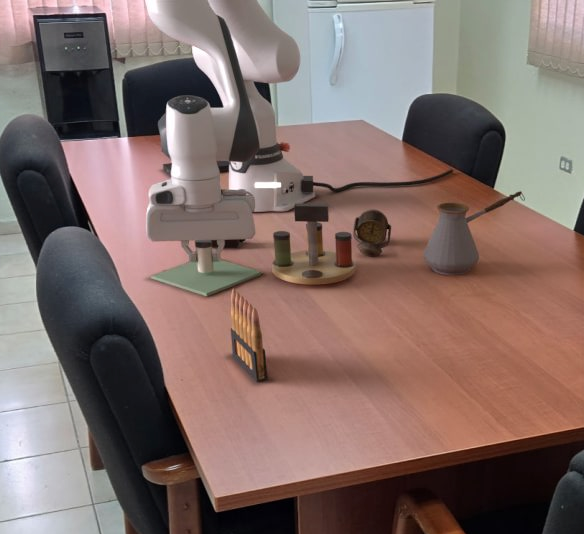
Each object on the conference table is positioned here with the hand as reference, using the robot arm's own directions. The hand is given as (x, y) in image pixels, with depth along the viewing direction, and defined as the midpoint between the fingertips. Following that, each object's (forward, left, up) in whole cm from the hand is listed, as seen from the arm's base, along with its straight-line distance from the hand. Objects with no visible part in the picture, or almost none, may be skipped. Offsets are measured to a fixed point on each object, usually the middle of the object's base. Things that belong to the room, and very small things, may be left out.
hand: (204, 261), depth 184 cm
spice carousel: (-14, +16, -3) cm, 21 cm away
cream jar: (0, 0, -2) cm, 2 cm away
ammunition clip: (+25, +35, -3) cm, 43 cm away
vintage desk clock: (-34, +14, -3) cm, 37 cm away
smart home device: (-56, -58, -3) cm, 81 cm away
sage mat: (0, 0, -3) cm, 3 cm away
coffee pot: (-38, +38, -3) cm, 54 cm away
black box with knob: (-16, -10, -3) cm, 19 cm away
